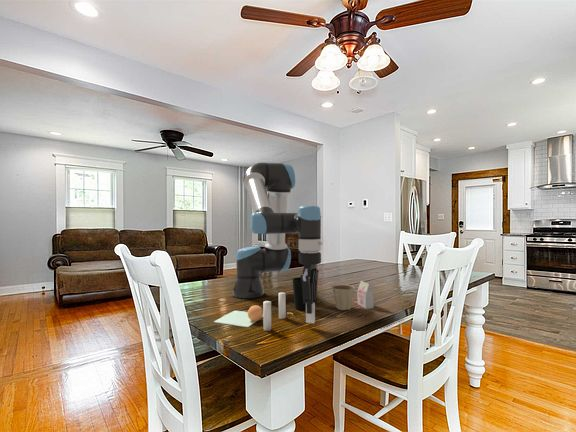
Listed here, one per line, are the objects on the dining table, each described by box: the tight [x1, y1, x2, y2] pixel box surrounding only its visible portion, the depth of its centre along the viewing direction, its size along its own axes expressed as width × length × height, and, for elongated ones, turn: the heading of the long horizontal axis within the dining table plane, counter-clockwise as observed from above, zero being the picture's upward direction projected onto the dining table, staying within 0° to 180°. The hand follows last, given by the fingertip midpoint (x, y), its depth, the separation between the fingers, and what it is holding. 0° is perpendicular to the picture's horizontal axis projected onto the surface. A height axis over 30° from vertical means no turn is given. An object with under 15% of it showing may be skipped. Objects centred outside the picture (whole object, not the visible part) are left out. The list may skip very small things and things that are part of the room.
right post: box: [278, 291, 287, 320], centre depth 107 cm, size 3×3×9 cm
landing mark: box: [213, 310, 263, 328], centre depth 106 cm, size 14×14×1 cm
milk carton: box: [356, 280, 374, 310], centre depth 121 cm, size 4×7×10 cm, turn 17°
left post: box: [262, 300, 272, 332], centre depth 95 cm, size 3×3×9 cm
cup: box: [291, 276, 306, 311], centre depth 118 cm, size 8×8×12 cm
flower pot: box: [331, 284, 356, 311], centre depth 118 cm, size 9×9×9 cm
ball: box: [247, 304, 263, 322], centre depth 103 cm, size 6×6×6 cm
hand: (310, 322), depth 96 cm, fingers closed
